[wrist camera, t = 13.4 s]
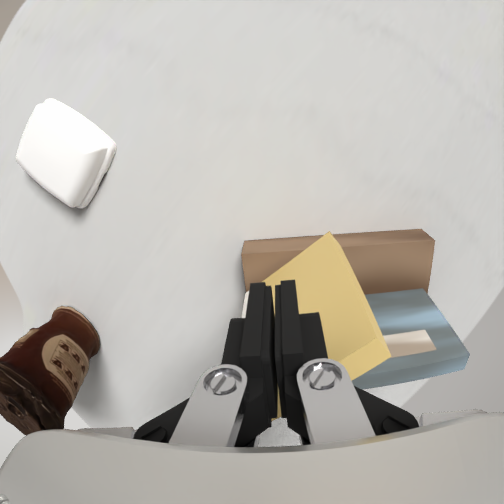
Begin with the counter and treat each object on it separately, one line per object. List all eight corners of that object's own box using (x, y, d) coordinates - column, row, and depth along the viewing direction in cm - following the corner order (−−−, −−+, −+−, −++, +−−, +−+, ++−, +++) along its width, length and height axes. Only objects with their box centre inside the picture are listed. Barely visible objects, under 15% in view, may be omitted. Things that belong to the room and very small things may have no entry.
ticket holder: (408, 322, 26) (452, 407, 16) (256, 336, 27) (247, 435, 17) (421, 228, 22) (494, 296, 13) (244, 240, 24) (224, 325, 14)
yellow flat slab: (244, 293, 21) (223, 419, 12) (328, 230, 19) (376, 336, 10) (257, 305, 22) (245, 432, 12) (340, 245, 19) (392, 357, 10)
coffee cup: (93, 295, 27) (16, 389, 15) (123, 362, 30) (73, 458, 18) (35, 297, 28) (-37, 371, 16) (64, 357, 31) (11, 435, 19)
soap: (124, 143, 21) (106, 147, 19) (88, 212, 24) (70, 222, 21) (52, 92, 20) (31, 92, 17) (24, 159, 22) (3, 164, 19)
